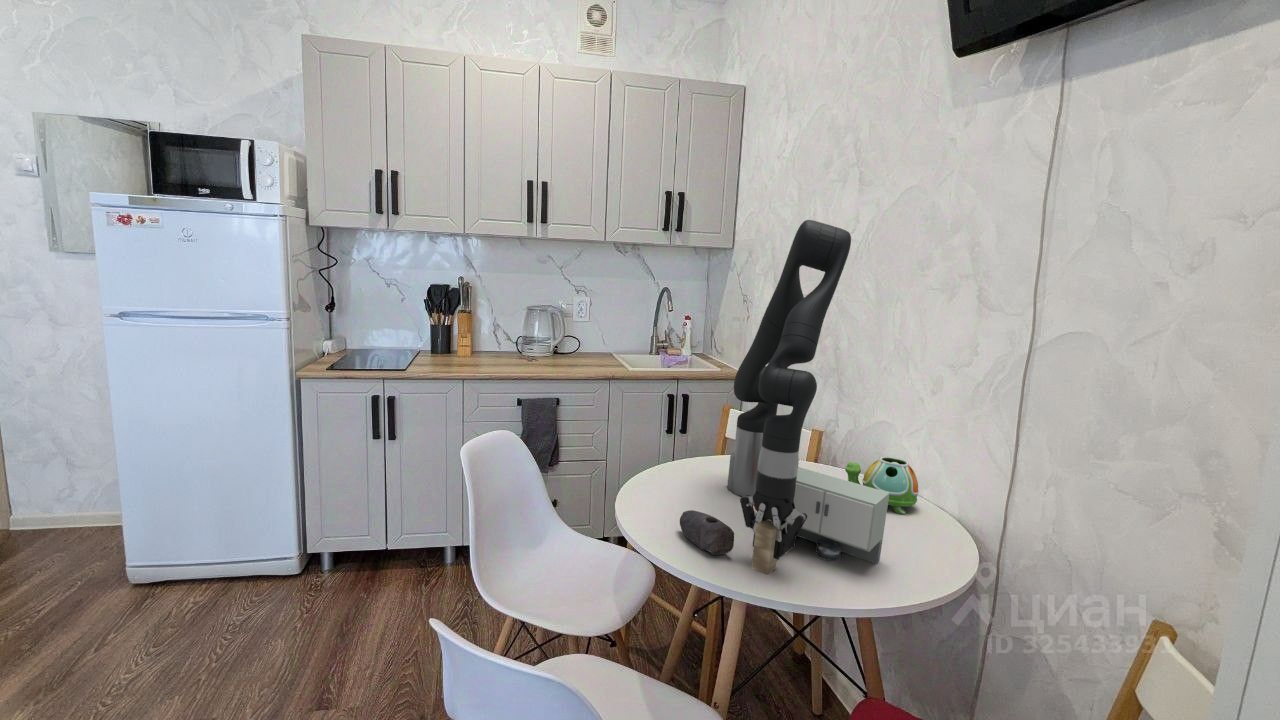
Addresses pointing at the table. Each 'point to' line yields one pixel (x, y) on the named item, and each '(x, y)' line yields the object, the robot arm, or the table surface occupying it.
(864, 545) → the cabinet
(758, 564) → the blade tool
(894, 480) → the turtle holder
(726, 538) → the perforated stone tool
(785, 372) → the robot arm
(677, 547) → the table surface
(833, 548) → the steel puck
